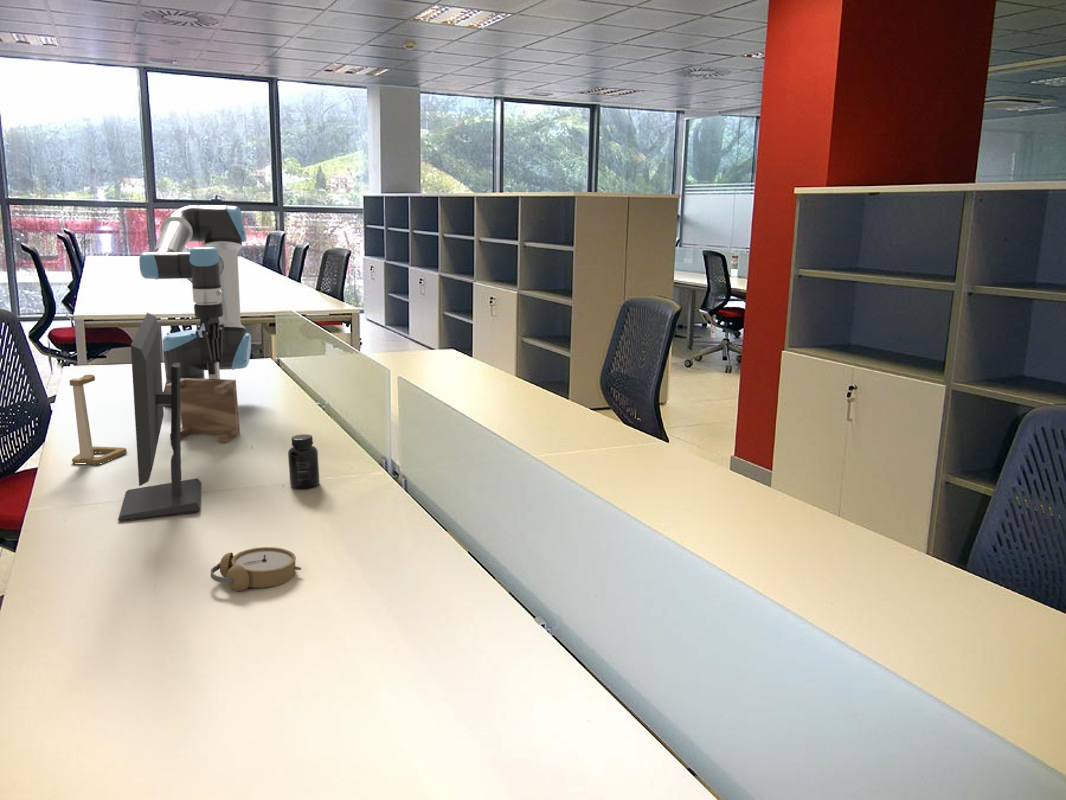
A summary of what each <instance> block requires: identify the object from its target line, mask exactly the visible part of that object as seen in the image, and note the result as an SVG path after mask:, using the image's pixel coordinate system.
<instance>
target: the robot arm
mask: <svg viewBox="0 0 1066 800" xmlns="http://www.w3.org/2000/svg"><path fill="white" fill-rule="evenodd" d="M246 241H247V233H246V228H245V223H244V218H243V214H242V211H241V209H240V208H239V207H238V206H236V205H235V206H234V205H227V204H224V205H196V204H195V205H193V204H192V205H186V206H183V207H180V208H177V209H175V210H173V211H172V212H170V213H169V214H167V215H166V217H164V219H163V220H162V222H161V224H160V235H159V238H158V240H157V242H156V245H155V247H154V249H153V251H147V252H142V253H140V255H139V261H138V262H139V263H138V264H139V271H140V274H141V276H142V277H143V278H144V279H146V280H148V279H150V280H151V279H152V280H174V279H175V280H176V279H177V280H178V279H180V280H181V279H183V280H184V279H188V280H189V279H191V283H192V284H191V285H192V301H193V303H194V305H193V311H194V317H196V318H198V319H199V327H200V328H199V329H188V330H182V331H176V332H173V333H169V334H167V335H165V336H164V337H163V339H162V353H163V362H164V372H165V383H164V386H165V385H167V384H169V383H171V368H172V365H173V363H180V378H197V379H206V378H205V371H207V374H208V375H207V376H208V379H221V374H220V372H221V371H220V370H226V371H227V370H232V371H233V370H234V371H235V370H242V369H245V368H247V367H248V365H249V363H250V360H251V359H250V358H251V350H252V335H251V334H250V333H249V332H247V328H246V326H244V325H243V324H242V323H241V321H242V319H241V300H240V299H241V298H240V278H239V259H238V258H239V257H238V256H239V255H238V253H239V251H240V250H241V249H242V248H243V243H246ZM189 242H199V243H200V242H204V246H197V247H191V248H190V249H189V251H186V252H185V251H184V249H185V247H186V245H187V244H188V243H189ZM163 392H166V390H165V387H164V389H163ZM164 405H165V406H164ZM163 406H164V407H168V408H171V404H163Z"/></svg>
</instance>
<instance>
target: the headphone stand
mask: <svg viewBox="0 0 1066 800" xmlns="http://www.w3.org/2000/svg"><path fill="white" fill-rule="evenodd" d="M95 381H96V376H95V375H94V374H85V375H83V376H81V377H79V378H71V379H70V380H69V387H72V390H73V398H74V399H73V401H74V402H73V403H74V410H75V419H76V428H77V438H78V445H79V446H78V447H79V449H78V450H79V453H78V454H76V455H75V456H74V457H72V458H71V463H72V462H73V463H86V464H100V463H103V462H105V463H107V462H109V461H108V460H110V461H112V460H114V458H115V459H117V458H120V457H121V455H122V456H124V455H126V454H127V453H128V451H127V450H128V449H127V448H126V447H114V446H93V442H92V435H91V434H92V433H91V428H90V422H89V420H90V419H89V414H88V407H87V401H86V395H85V394H86V393H85V389H84V387H85V386H84V385H86V384H90V383H92V382H95ZM95 452H101V453H100V454H104V455H100V456H95V455H94V453H95ZM105 453H108V454H105ZM95 454H96V453H95ZM123 454H124V455H123ZM119 456H120V457H119ZM116 457H117V458H116ZM111 459H112V460H111ZM106 461H107V462H106ZM73 463H72V464H73ZM103 464H104V463H103ZM100 465H101V464H100Z"/></svg>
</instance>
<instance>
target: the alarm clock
mask: <svg viewBox="0 0 1066 800" xmlns="http://www.w3.org/2000/svg"><path fill="white" fill-rule="evenodd" d="M296 561H297V558H296V555H295V553H293V552H292V551H290V550H288V549H285V548H280V547H274V546H272V547H271V546H262V547H261V546H260V547H253V548H249V549H245V550H242V551H239V552H238V553H236V554H235V555H234V554H233V552H227V553H225V554H224V555H223V556H222V557H221V559H220V562H219V563H218V564H217V565H215V566H213V567H212V568H210V578H211V580H213V581H214V582H217V583H225V584H228V586H229V587H230V588H231V589H232V590H233V591H237V592H243V591H245V590H247V589H248V588H270V587H278V586H280V585H283V584H285V583H287V582H289V581H291V580H292V579H293V578H294V577H295V575H296V571H302V567H300V566H297V565H296ZM217 571H219V573H220V574H221V576H219V575H216V574H215V572H217Z"/></svg>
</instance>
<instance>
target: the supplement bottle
mask: <svg viewBox="0 0 1066 800" xmlns="http://www.w3.org/2000/svg"><path fill="white" fill-rule="evenodd" d="M313 444H314V439H313V436H312V435H311V434H296V435H293V436H292V437H291V446H292V447H290V449H289V450H288V451H287V455H288V456H287V457H288V468H289V469H288V470H289V472H288V473H289V482H290V483H289V484H290V485H289V486H291V488H293V489H297V490H306V489H313V488H315V487H317V486H319V483H320V466H319V451H318V449H317V447H316V446H314V445H313Z"/></svg>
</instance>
